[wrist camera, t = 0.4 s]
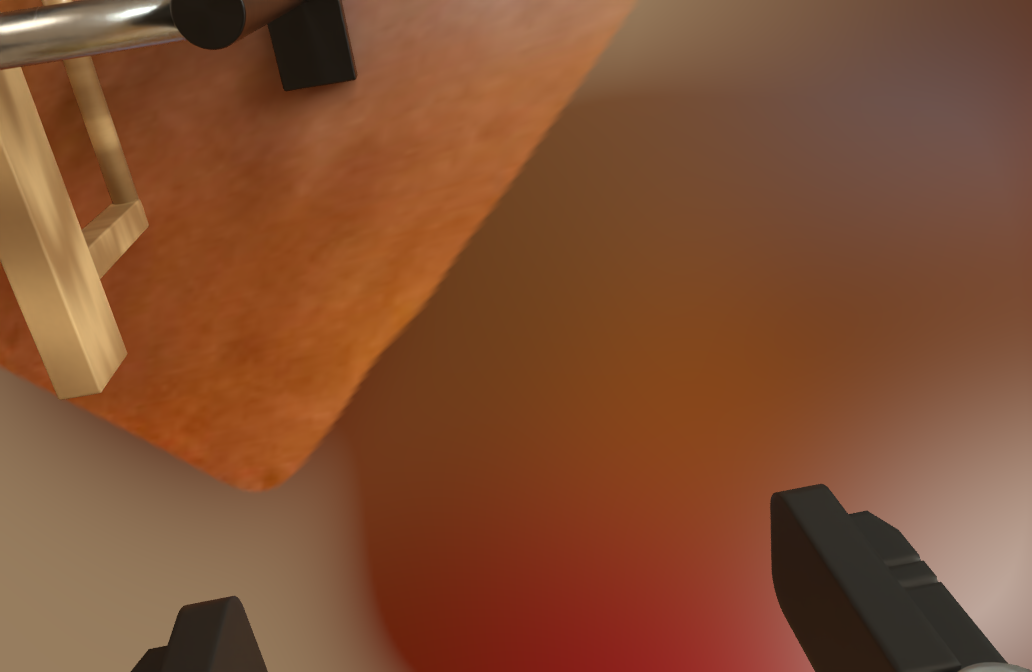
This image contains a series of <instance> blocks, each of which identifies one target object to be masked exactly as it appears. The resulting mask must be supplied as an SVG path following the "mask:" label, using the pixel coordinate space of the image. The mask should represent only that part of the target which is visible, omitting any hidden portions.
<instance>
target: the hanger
mask: <svg viewBox="0 0 1032 672" xmlns="http://www.w3.org/2000/svg"><path fill="white" fill-rule="evenodd" d="M41 1H42V4H43V6H47V5H54V4H60V3H67V2H72V0H41ZM62 61H63V63H64V66H65V69H66V72H67V75H68V78H69V80H70V83H71V86H72V89H73V92H74V95H75V98H76V100H77V103H78V106H79V109H80V112H81V115H82V118H83V120H84V123H85V126H86V129H87V132H88V135H89V137H90V140H91V143H92V146H93V149H94V152H95V155H96V157H97V160H98V163H99V166H100V169H101V172H102V174H103V177H104V180H105V183H106V186H107V189H108V192H109V194H110V197H111V200H112V204H111V205H109V206H108V207H107V208H106V209H105V210H104V211H103V212H101V213H100V214H99V215H98V216H97V217H96V218H95V219H93V220H92V221H91V222H90V223H89V224H88V225H87V226H86V227H84V228H83V229H82V230H81V228H80V225H79V222H78V220H77V217H76V214H75V211H74V209H73V206H72V203H71V201H70V198H69V195H68V193H67V190H66V187H65V185H64V182H63V179H62V177H61V174H60V171H59V168H58V166H57V163H56V160H55V158H54V155H53V152H52V150H51V147H50V144H49V142H48V139H47V136H46V134H45V131H44V128H43V125H42V123H41V120H40V117H39V115H38V112H37V109H36V107H35V104H34V101H33V99H32V96H31V93H30V91H29V88H28V85H27V82H26V80H25V77H24V74H23V72H22V69H21V67H18V68H12V69H6V70H0V261H1V263H2V266H3V268H4V270H5V273H6V275H7V278H8V280H9V282H10V285H11V287H12V289H13V292H14V294H15V297H16V299H17V301H18V304H19V306H20V308H21V311H22V313H23V316H24V318H25V320H26V323H27V325H28V327H29V330H30V332H31V335H32V337H33V339H34V342H35V344H36V346H37V349H38V351H39V354H40V356H41V358H42V361H43V363H44V365H45V368H46V370H47V373H48V375H49V377H50V380H51V382H52V384H53V387H54V389H55V392H56V394H57V396H58V399H59V400H63V399H69V398H75V397H80V396H86V395H92V394H97V393H101V392H102V391H103V389H104V388H105V386H106V385H107V383H108V382H109V380H110V379H111V377H112V376H113V375H114V373H115V372H116V370H117V369H118V367H119V366H120V364H121V363H122V361H123V360H124V358H125V357H126V355H127V351H126V348H125V346H124V343H123V340H122V338H121V335H120V332H119V330H118V327H117V324H116V322H115V319H114V316H113V314H112V311H111V308H110V305H109V303H108V300H107V297H106V295H105V292H104V289H103V287H102V284H101V281H100V279H101V278H102V277H103V276H104V275H105V273H106V272H107V271H108V270H109V269H110V268H111V267H112V266H113V265H114V264H115V263H116V261H117V260H118V259H119V258H120V257H121V256H122V255H123V254H124V253H125V252H126V251H127V249H128V248H129V247H130V246H131V245H132V244H133V243H134V242H135V241H136V240H137V239H138V237H139V236H140V235H141V234H142V233H143V232H144V231H145V230H146V229H147V228H148V227H149V224H148V221H147V218H146V215H145V212H144V209H143V206H142V203H141V200H140V199H139V197H138V194H137V191H136V189H135V186H134V183H133V180H132V177H131V174H130V171H129V168H128V165H127V162H126V159H125V156H124V153H123V150H122V147H121V144H120V141H119V138H118V135H117V132H116V129H115V126H114V123H113V120H112V117H111V114H110V111H109V108H108V105H107V102H106V99H105V97H104V94H103V91H102V88H101V85H100V82H99V79H98V76H97V73H96V70H95V67H94V64H93V61H92V58H91V56H87V57H81V58H75V59H69V60H62Z"/></svg>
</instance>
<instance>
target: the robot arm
mask: <svg viewBox="0 0 1032 672" xmlns="http://www.w3.org/2000/svg"><path fill="white" fill-rule="evenodd" d="M770 504H771V505H770V510H771V560H772V578H773V583H774V588H775V592H776V596H777V599H778V602H779V604H780V607H781V609H782V612H783V614H784V615H785V617H786V619H787V621H788V623H789V625H790V627H791V628H792V630H793V632H794V634H795V636H796V638H797V639H798V641H799V643H800V645H801V647H802V648H803V650H804V652H805V654H806V656H807V657H808V659H809V661H810V663H811V665H812V667H813V668H814V670H815V672H1032V671H1031V670H1029V669H1026V668H1023V667H1020V666H1016V665H1012V664H1008V663H1007V662H1006V661H1005V660H1004V658H1003V657H1002V656H1001V655H1000V654H999V652H998V651H997V650H996V649H995V648H994V646H993V645H992V644H991V643H990V641H989V640H988V639H987V638H986V637H985V635H984V634H983V633H982V631H981V630H980V629H979V628H978V627H977V625H976V624H975V623H974V622H973V621H972V619H971V618H970V617H969V616H968V614H967V613H966V612H965V611H964V610H963V608H962V607H961V606H960V605H959V603H958V602H957V601H956V600H955V599H954V597H953V596H952V595H951V594H950V592H949V591H948V590H947V589H946V588H945V586H944V585H943V584H942V583H941V582H938V581H937V576H936V575H935V574H934V573H933V572H932V570H931V569H930V568H929V567H928V566H927V564H926V563H925V562H924V561H921V560H920V557H919V554H918V553H917V552H916V551H915V549H914V548H913V547H912V546H911V545H910V543H909V542H908V541H907V540H906V538H905V537H904V536H903V535H902V534H901V532H900V531H899V530H898V529H896V528H894V527H893V526H891V525H890V524H888V523H886V522H885V521H883V520H881V519H880V518H878V517H877V516H874V515H873V514H871V513H870V512H868V511H863V512H858V513H853V514H848V513H847V512H846V511H845V509H844V508H843V507H842V505H841V504H840V503H839V501H838V500H837V499H836V497H835V496H834V495H833V494H832V492H831V491H830V490H829V488H828V487H827V486H825V485H824V484H818V485H812V486H807V487H802V488H797V489H792V490H787V491H781V492H776V493H774V494H773V495H772V497H771V503H770ZM131 672H268V671H267V668H266V666H265V663H264V660H263V658H262V655H261V652H260V650H259V647H258V644H257V642H256V639H255V637H254V634H253V631H252V628H251V626H250V623H249V621H248V618H247V615H246V613H245V610H244V607H243V605H242V603H241V601H240V600H239V598H238V597H236V596H231V597H226V598H220V599H215V600H210V601H205V602H200V603H195V604H190V605H185V606H183V607H182V608H181V609H180V611H179V613H178V615H177V619H176V621H175V624H174V628H173V631H172V634H171V637H170V640H169V643H168V646H163V647H158V648H153V649H149V650H148V651H147V652H146V653H145V655H144V656H143V657H142V658H141V660H140V661H139V662H138V663H137V665H136V666H135V667H134V668H133V670H132V671H131Z"/></svg>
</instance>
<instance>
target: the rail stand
mask: <svg viewBox="0 0 1032 672" xmlns="http://www.w3.org/2000/svg"><path fill="white" fill-rule="evenodd" d="M266 24H268V28H269V32H270V36H271V40H272V44H273V48H274V52H275V56H276V61H277V65H278V69H279V73H280V77H281V81H282V85H283V89H284V91H290V90H296V89H302V88H308V87H314V86H320V85H327V84H333V83H339V82H345V81H351V80H355V79H356V78H357V71H356V66H355V61H354V56H353V52H352V47H351V42H350V38H349V33H348V28H347V23H346V19H345V14H344V9H343V5H342V0H79V1H73V2H67V3H60V4H54V5H47V6H41V7H35V8H28V9H22V10H15V11H9V12H3V13H0V70H6V69H12V68H18V67H25V66H31V65H37V64H43V63H50V62H56V61H62V60H69V59H75V58H81V57H87V56H94V55H100V54H106V53H113V52H119V51H125V50H131V49H138V48H144V47H150V46H157V45H163V44H169V43H176V42H182V41H189V42H190V43H192V44H194V45H196V46H198V47H200V48H204V49H209V50H217V49H222V48H225V47H228V46H230V45H231V44H233V43H235V42H237V41H238V40H240V39H242V38H244V37H245V36H247V35H249V34H251V33H252V32H254V31H256V30H258V29H259V28H261V27H263V26H265V25H266Z"/></svg>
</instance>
